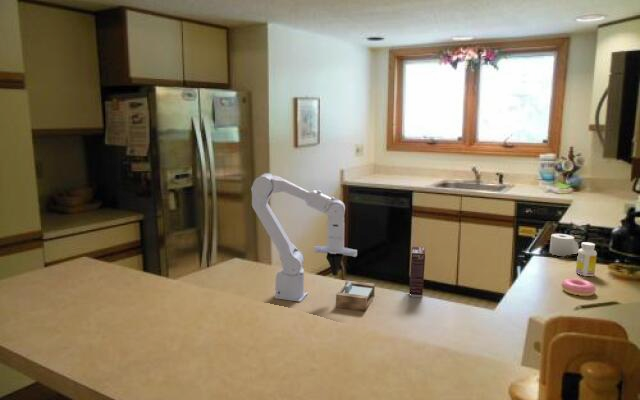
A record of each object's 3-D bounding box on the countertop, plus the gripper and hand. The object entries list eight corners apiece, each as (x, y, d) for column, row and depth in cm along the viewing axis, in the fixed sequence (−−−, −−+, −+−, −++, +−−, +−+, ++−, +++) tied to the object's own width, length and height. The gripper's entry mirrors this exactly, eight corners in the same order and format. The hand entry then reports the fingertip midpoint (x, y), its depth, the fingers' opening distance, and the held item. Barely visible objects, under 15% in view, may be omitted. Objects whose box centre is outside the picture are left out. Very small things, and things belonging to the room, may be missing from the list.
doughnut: (601, 294, 174) (602, 283, 173) (583, 300, 168) (584, 288, 168) (572, 284, 183) (573, 274, 182) (554, 290, 178) (555, 279, 177)
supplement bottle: (594, 273, 195) (598, 243, 193) (593, 278, 190) (597, 246, 187) (576, 270, 199) (579, 240, 196) (574, 275, 193) (578, 244, 191)
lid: (340, 297, 160) (340, 289, 159) (349, 286, 170) (349, 277, 170) (365, 301, 157) (366, 292, 156) (373, 289, 168) (373, 280, 167)
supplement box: (423, 298, 168) (425, 254, 165) (408, 296, 169) (411, 253, 166) (422, 289, 176) (425, 247, 173) (409, 287, 177) (411, 246, 174)
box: (335, 307, 159) (336, 294, 158) (346, 292, 172) (347, 280, 172) (365, 311, 156) (366, 298, 155) (374, 295, 169) (374, 283, 168)
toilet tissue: (583, 256, 219) (586, 237, 217) (559, 258, 216) (561, 239, 214) (569, 250, 227) (571, 232, 226) (545, 252, 224) (546, 234, 223)
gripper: (311, 236, 161) (311, 275, 163) (353, 240, 156) (352, 280, 159) (318, 231, 167) (317, 269, 170) (358, 235, 163) (358, 273, 166)
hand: (335, 274), depth 165 cm, fingers closed
